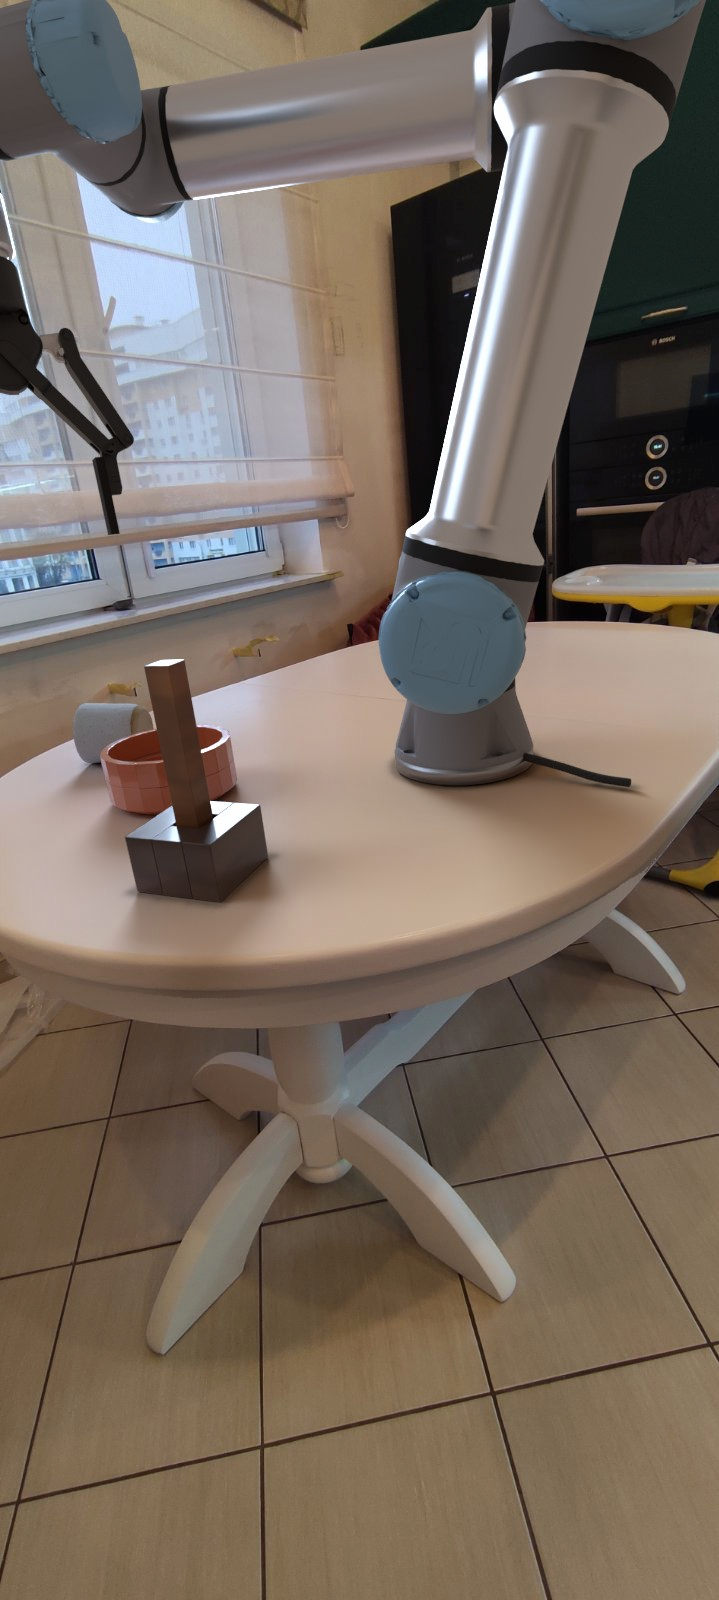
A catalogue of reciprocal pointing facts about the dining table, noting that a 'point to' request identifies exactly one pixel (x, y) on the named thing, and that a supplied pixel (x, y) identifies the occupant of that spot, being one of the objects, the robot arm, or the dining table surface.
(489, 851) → the dining table surface
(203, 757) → the bowl
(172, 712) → the stick
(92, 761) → the ceramic mug
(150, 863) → the holder
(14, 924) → the dining table surface
